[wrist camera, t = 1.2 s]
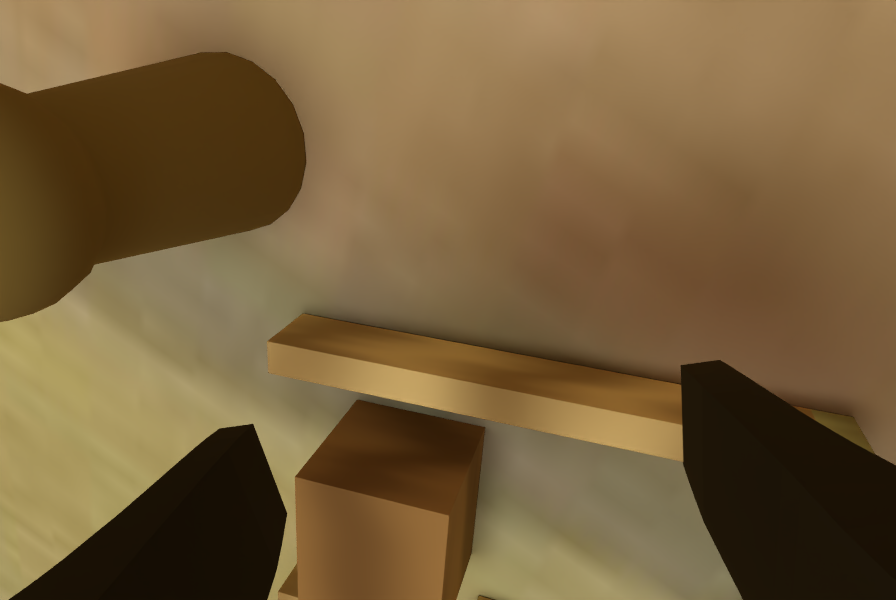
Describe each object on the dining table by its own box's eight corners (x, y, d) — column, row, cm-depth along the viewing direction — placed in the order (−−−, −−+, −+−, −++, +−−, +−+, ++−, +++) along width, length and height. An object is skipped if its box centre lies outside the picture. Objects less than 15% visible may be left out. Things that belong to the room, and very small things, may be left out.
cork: (241, 263, 23) (-49, 419, 13) (122, 142, 23) (-268, 211, 13) (340, 148, 21) (69, 237, 11) (208, 9, 20) (-202, -32, 10)
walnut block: (485, 425, 23) (449, 515, 19) (471, 552, 25) (436, 659, 21) (358, 398, 24) (294, 477, 20) (356, 521, 27) (298, 617, 22)
